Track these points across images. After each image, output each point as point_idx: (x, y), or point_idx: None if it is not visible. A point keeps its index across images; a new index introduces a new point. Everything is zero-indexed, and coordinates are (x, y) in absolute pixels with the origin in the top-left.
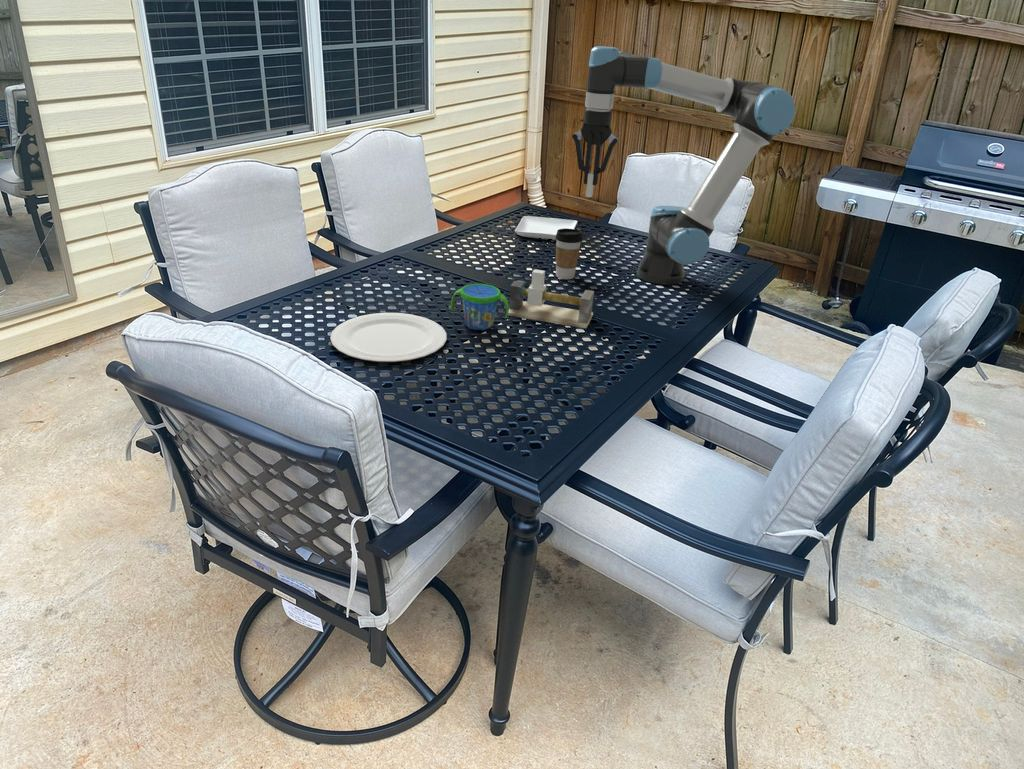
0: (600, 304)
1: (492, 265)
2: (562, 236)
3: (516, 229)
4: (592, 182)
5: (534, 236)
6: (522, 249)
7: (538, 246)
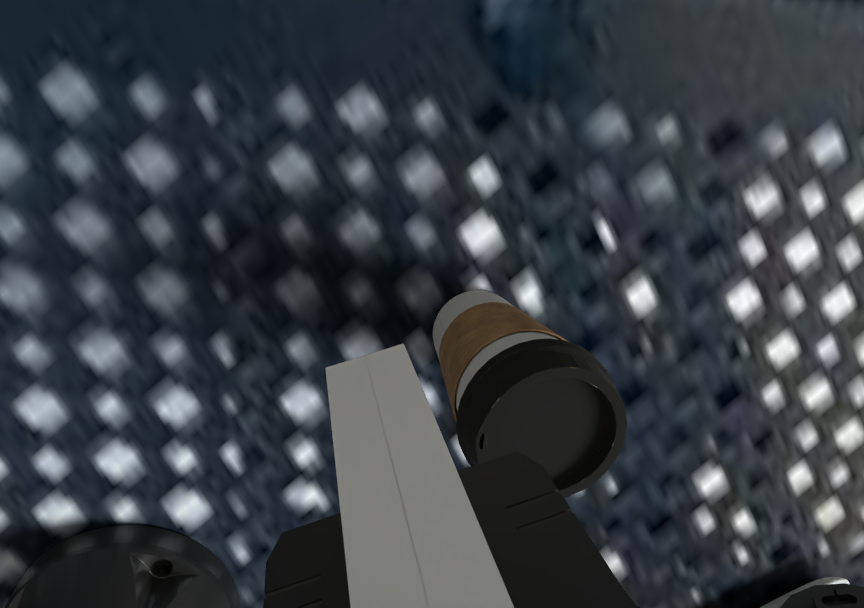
0: (148, 109)
1: (791, 225)
2: (560, 358)
3: None
4: (341, 512)
5: (763, 606)
6: (753, 474)
7: (712, 546)
